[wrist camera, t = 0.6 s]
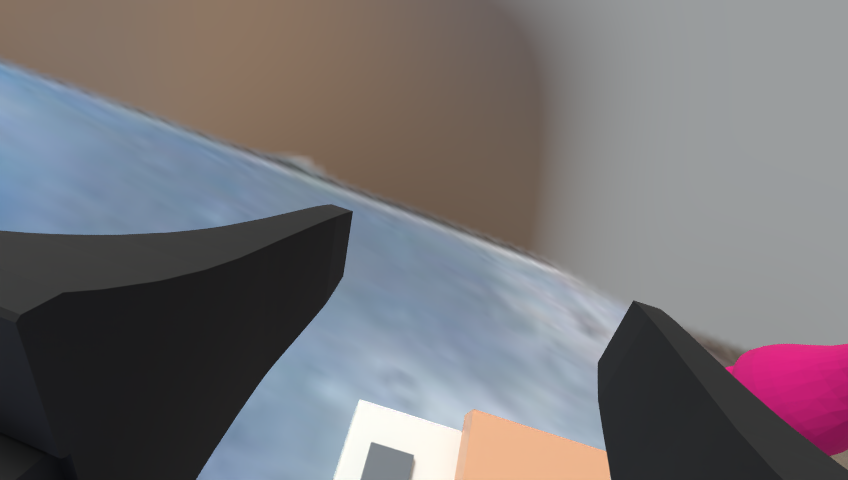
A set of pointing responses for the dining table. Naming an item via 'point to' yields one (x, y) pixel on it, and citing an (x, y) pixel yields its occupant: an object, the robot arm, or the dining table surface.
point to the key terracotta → (523, 453)
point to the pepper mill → (802, 388)
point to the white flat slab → (396, 447)
